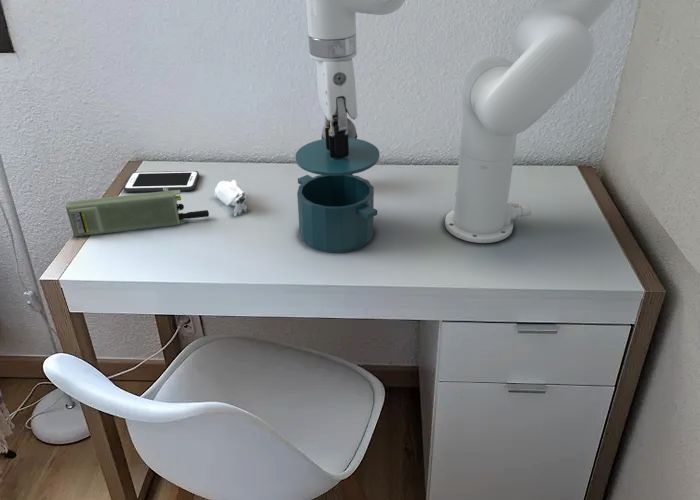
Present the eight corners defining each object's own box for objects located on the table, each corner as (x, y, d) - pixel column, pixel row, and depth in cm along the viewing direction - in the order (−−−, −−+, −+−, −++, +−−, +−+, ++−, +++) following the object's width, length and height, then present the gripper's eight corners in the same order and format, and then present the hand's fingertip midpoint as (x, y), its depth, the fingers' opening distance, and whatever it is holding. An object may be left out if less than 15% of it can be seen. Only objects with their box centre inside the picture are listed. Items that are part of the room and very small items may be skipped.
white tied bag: (257, 212, 132) (231, 185, 137) (253, 189, 127) (226, 161, 132) (236, 224, 130) (211, 195, 135) (231, 200, 125) (205, 171, 130)
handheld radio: (75, 229, 125) (209, 214, 129) (73, 239, 122) (209, 223, 126) (66, 199, 121) (204, 184, 125) (64, 208, 118) (205, 193, 122)
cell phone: (132, 176, 143) (131, 172, 143) (199, 174, 144) (199, 170, 143) (123, 192, 137) (122, 188, 136) (193, 191, 137) (193, 186, 137)
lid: (340, 136, 123) (339, 107, 120) (397, 159, 114) (397, 128, 111) (279, 160, 115) (276, 130, 112) (334, 187, 106) (332, 155, 103)
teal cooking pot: (330, 203, 132) (329, 162, 127) (398, 239, 120) (400, 195, 116) (276, 227, 125) (273, 184, 120) (343, 267, 113) (343, 222, 108)
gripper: (368, 57, 98) (369, 169, 108) (345, 30, 111) (348, 132, 121) (318, 62, 97) (324, 175, 107) (301, 34, 110) (308, 137, 120)
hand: (337, 151), depth 114 cm, fingers closed on lid, 2 cm apart
